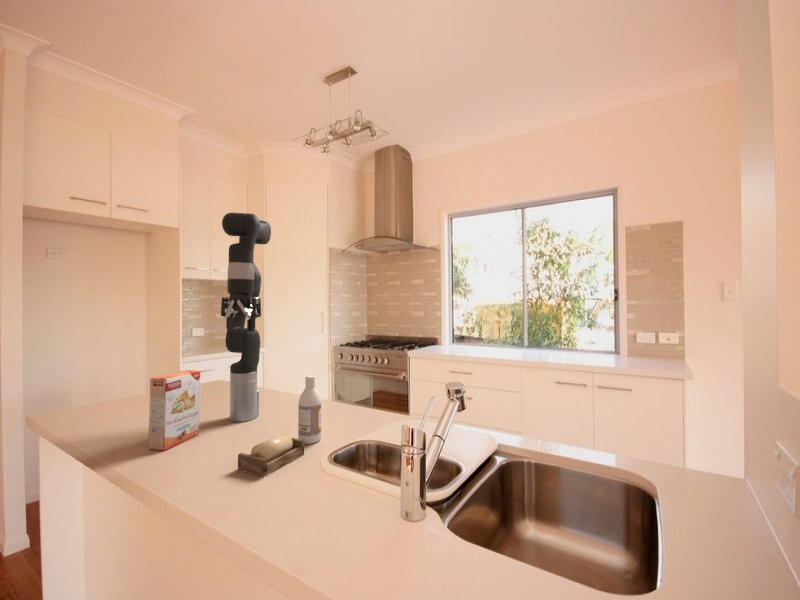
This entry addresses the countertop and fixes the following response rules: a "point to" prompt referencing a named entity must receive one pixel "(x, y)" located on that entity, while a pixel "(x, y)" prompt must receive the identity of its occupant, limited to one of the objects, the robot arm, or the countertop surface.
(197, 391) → the cracker box
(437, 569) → the countertop surface
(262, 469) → the cradle
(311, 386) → the bath foam
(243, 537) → the countertop surface
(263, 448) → the roll
